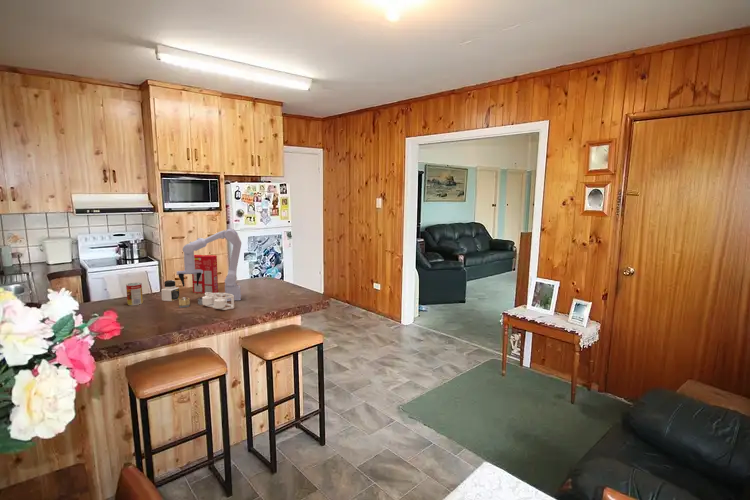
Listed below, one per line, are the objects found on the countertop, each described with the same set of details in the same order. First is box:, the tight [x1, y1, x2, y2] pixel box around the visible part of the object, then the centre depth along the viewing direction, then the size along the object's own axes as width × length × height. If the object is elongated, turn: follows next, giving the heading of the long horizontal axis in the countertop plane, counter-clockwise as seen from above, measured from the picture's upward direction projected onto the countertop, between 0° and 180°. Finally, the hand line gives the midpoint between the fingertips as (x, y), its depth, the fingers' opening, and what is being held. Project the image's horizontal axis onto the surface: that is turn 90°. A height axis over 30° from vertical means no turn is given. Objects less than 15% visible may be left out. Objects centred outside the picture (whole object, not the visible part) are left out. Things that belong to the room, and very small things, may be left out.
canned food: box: [125, 282, 144, 306], centre depth 239 cm, size 8×8×12 cm
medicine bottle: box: [161, 279, 180, 302], centre depth 249 cm, size 7×7×12 cm
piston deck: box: [178, 296, 191, 309], centre depth 236 cm, size 5×6×5 cm
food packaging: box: [191, 254, 219, 294], centre depth 266 cm, size 15×5×25 cm, turn 84°
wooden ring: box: [178, 297, 191, 306], centre depth 236 cm, size 6×6×3 cm
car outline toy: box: [201, 292, 235, 311], centre depth 235 cm, size 20×11×7 cm, turn 59°
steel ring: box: [197, 296, 204, 306], centre depth 242 cm, size 6×6×3 cm
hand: (190, 285), depth 244 cm, fingers open, 7 cm apart
